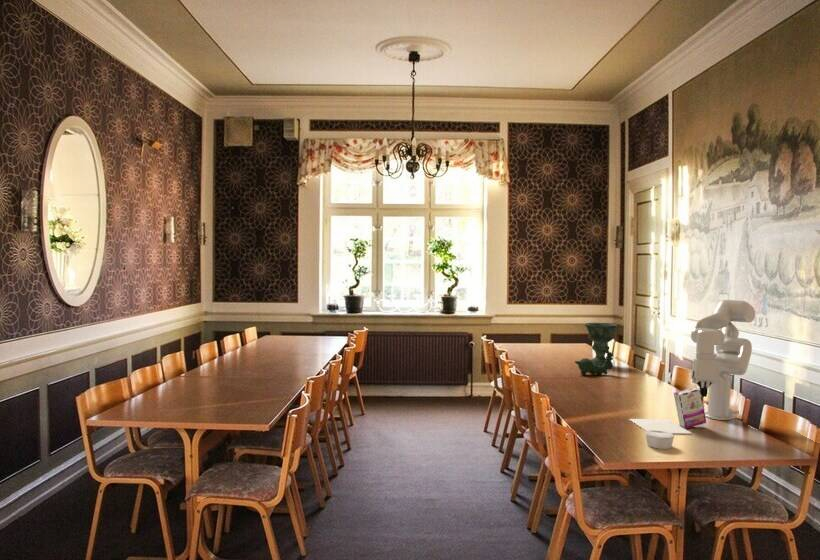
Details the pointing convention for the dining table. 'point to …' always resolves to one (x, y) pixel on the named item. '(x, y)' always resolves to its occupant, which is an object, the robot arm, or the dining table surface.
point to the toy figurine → (592, 368)
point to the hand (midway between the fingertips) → (703, 396)
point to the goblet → (600, 339)
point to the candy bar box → (690, 407)
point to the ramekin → (659, 439)
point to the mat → (660, 425)
